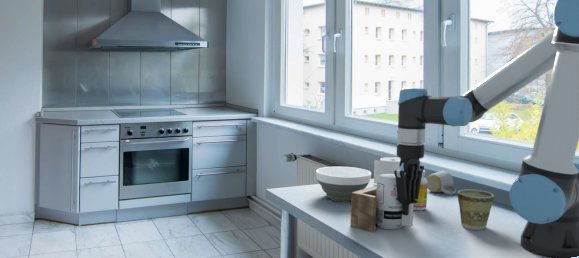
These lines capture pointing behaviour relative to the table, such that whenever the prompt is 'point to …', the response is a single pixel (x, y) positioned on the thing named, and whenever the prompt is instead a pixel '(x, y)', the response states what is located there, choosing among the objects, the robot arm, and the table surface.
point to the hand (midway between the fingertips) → (406, 225)
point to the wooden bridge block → (364, 209)
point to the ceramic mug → (441, 182)
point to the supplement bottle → (422, 194)
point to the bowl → (342, 181)
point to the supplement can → (388, 203)
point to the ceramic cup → (474, 208)
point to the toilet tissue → (385, 166)
